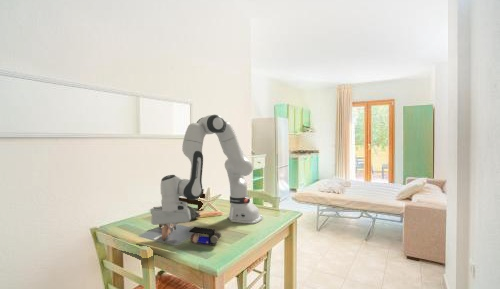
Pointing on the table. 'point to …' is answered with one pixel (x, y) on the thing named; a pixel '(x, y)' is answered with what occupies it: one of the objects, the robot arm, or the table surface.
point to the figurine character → (204, 239)
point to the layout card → (172, 238)
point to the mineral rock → (193, 213)
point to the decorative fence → (194, 202)
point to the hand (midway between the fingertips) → (172, 230)
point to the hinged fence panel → (166, 231)
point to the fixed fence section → (165, 225)
